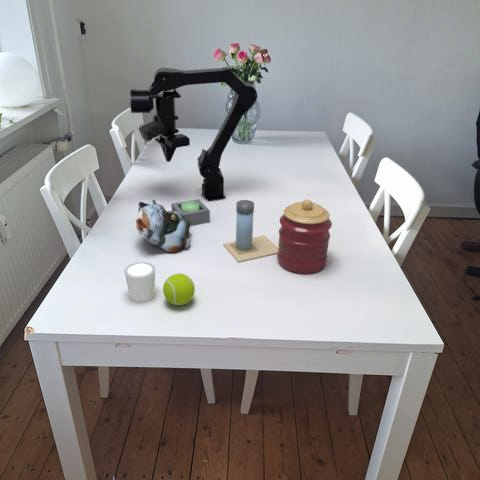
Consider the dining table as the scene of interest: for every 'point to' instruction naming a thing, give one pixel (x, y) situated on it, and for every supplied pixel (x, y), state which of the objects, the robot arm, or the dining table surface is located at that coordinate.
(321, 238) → the canister
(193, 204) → the button
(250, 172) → the dining table surface
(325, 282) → the dining table surface
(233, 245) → the kraft sheet
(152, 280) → the white cylinder
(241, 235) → the water bottle
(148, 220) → the lucky cat figurine
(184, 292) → the tennis ball
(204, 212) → the button box
